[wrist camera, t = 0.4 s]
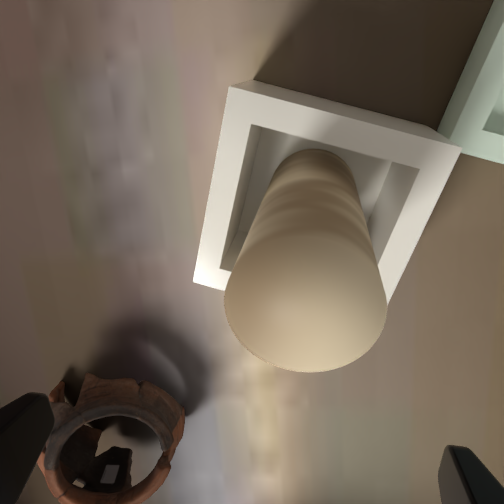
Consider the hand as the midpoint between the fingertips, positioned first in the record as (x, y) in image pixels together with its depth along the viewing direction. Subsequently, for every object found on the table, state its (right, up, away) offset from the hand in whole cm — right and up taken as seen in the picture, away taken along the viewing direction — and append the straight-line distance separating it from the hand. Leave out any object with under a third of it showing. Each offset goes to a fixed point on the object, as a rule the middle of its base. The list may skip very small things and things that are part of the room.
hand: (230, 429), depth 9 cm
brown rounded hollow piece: (-9, -8, +20) cm, 23 cm away
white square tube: (+3, +7, +11) cm, 13 cm away
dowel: (+3, +7, +10) cm, 12 cm away
